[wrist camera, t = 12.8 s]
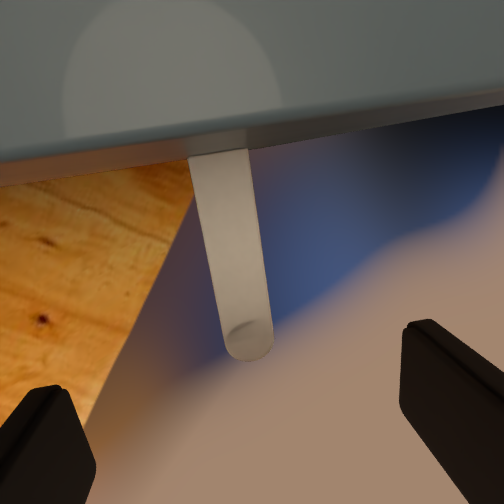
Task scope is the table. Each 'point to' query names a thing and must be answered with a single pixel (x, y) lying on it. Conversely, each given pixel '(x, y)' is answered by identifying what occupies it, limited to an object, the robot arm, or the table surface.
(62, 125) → the cupboard door
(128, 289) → the table surface
